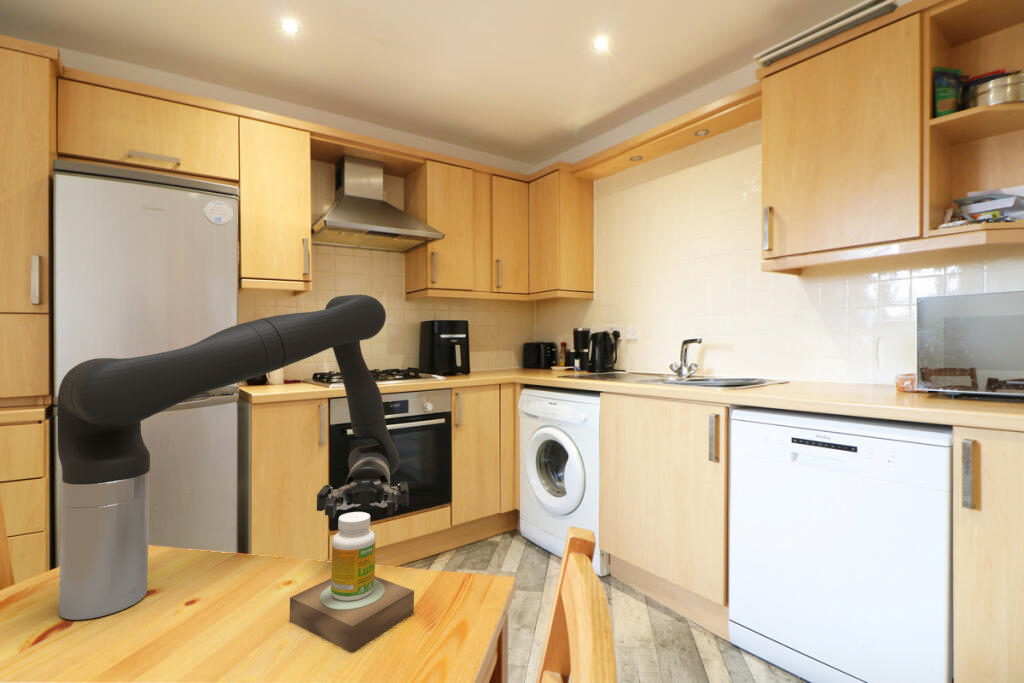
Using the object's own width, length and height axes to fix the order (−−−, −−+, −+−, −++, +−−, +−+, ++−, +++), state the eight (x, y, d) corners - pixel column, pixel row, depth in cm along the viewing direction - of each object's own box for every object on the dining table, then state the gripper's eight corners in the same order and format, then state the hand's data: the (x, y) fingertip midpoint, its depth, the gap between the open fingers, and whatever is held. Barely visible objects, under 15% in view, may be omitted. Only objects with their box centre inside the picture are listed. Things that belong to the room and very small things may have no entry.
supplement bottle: (361, 604, 60) (363, 525, 60) (322, 599, 61) (324, 521, 62) (381, 584, 65) (383, 511, 66) (345, 580, 67) (347, 508, 67)
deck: (289, 620, 62) (290, 595, 62) (352, 588, 71) (353, 566, 71) (352, 652, 56) (352, 624, 56) (413, 613, 64) (414, 589, 64)
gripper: (327, 462, 88) (311, 487, 72) (408, 459, 91) (409, 482, 75) (327, 504, 88) (310, 538, 72) (407, 499, 91) (408, 531, 75)
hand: (360, 509), depth 74 cm, fingers open, 8 cm apart
